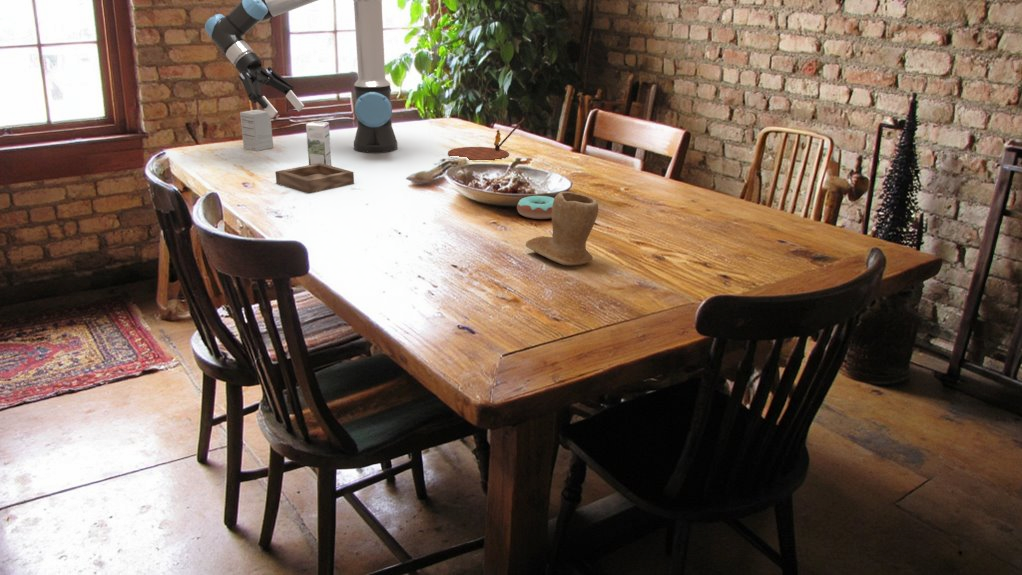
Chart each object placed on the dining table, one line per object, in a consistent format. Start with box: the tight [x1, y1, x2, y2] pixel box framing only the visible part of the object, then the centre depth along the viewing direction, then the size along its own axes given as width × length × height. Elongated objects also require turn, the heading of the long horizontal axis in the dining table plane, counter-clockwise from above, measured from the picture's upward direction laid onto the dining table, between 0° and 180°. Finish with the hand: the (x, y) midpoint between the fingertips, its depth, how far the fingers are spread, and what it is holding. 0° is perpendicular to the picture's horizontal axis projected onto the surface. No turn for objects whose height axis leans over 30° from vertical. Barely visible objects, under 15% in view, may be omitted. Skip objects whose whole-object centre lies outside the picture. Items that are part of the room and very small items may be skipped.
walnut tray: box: [274, 163, 355, 194], centre depth 248 cm, size 16×16×4 cm
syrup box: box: [305, 121, 333, 166], centre depth 263 cm, size 6×6×14 cm
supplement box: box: [239, 109, 274, 152], centre depth 290 cm, size 7×7×13 cm
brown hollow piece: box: [525, 191, 599, 266], centre depth 187 cm, size 15×12×15 cm
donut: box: [516, 195, 555, 220], centre depth 222 cm, size 12×12×4 cm
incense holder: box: [447, 117, 526, 161], centre depth 290 cm, size 21×30×11 cm
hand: (288, 112), depth 263 cm, fingers open, 13 cm apart
